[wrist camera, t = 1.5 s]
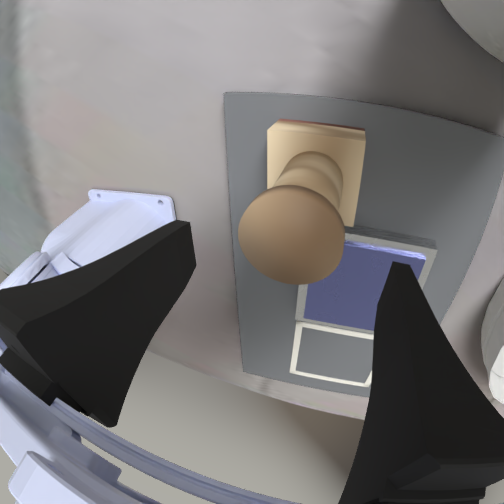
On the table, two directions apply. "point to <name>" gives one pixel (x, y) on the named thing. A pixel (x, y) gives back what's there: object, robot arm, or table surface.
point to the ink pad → (362, 277)
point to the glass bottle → (481, 22)
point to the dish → (494, 343)
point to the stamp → (304, 201)
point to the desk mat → (358, 222)
